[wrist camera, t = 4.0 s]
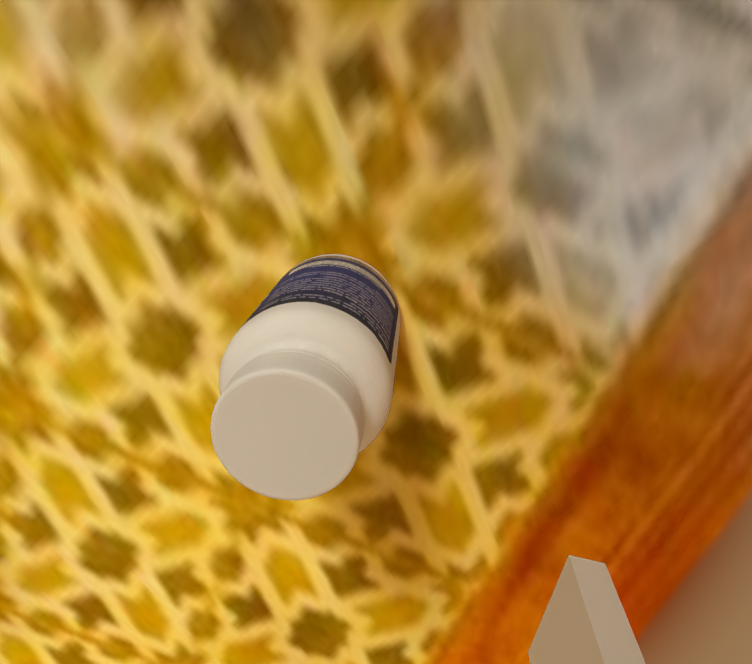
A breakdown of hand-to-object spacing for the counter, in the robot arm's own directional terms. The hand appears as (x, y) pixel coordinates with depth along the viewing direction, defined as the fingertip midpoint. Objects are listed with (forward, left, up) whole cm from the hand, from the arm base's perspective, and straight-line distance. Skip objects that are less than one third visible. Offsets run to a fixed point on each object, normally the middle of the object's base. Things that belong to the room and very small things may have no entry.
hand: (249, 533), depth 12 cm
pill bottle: (0, 0, -13) cm, 13 cm away
